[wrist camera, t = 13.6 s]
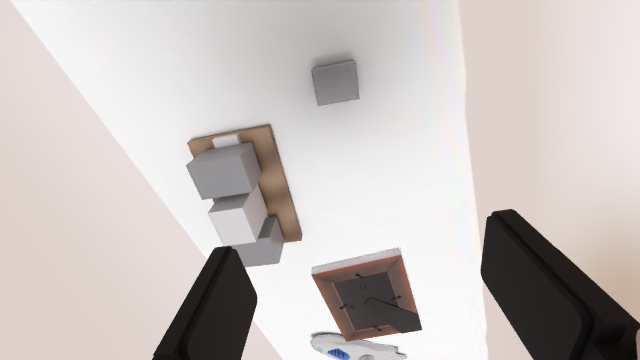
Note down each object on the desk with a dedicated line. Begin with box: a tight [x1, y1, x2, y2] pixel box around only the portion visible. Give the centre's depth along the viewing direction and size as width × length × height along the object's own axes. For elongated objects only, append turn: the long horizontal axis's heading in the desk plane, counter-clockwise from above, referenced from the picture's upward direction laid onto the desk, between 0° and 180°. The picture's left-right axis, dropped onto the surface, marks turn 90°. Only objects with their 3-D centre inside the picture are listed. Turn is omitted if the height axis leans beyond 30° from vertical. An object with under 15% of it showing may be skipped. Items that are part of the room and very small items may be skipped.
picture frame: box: [311, 248, 422, 342], centre depth 52 cm, size 16×2×22 cm
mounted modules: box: [186, 142, 284, 267], centre depth 37 cm, size 18×7×5 cm, turn 11°
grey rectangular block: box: [312, 60, 360, 106], centre depth 32 cm, size 4×5×4 cm
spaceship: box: [311, 334, 407, 360], centre depth 59 cm, size 23×7×4 cm, turn 73°
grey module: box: [208, 183, 268, 246], centre depth 37 cm, size 6×5×7 cm
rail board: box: [187, 125, 302, 243], centre depth 41 cm, size 20×12×2 cm, turn 11°
